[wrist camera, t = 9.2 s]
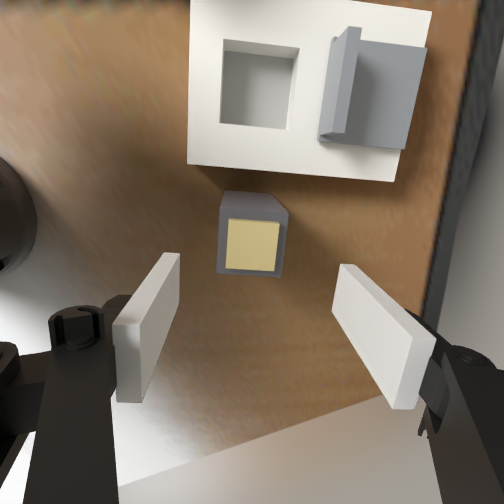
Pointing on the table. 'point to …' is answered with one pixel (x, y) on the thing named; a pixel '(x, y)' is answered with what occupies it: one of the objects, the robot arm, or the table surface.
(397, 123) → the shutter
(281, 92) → the socket
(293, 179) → the table surface
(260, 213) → the plug
